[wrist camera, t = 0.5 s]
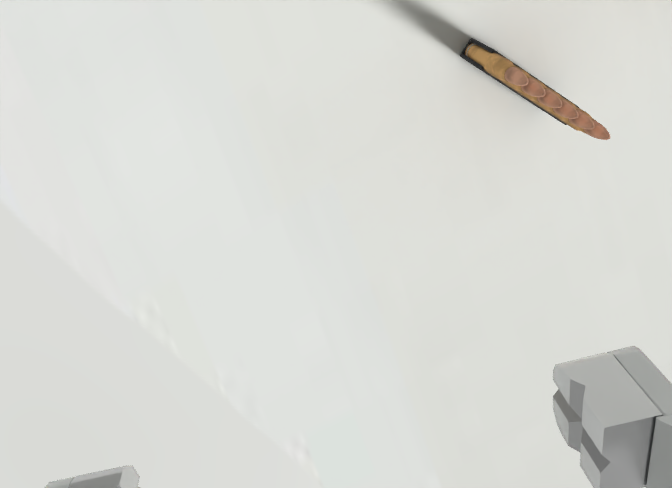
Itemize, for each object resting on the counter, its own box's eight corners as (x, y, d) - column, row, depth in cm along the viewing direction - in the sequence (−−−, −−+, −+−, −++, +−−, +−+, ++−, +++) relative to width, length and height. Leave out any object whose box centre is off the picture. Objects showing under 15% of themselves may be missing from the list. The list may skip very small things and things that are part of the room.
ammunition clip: (459, 55, 52) (509, 88, 42) (471, 37, 51) (525, 65, 41) (543, 111, 56) (609, 153, 45) (555, 94, 55) (625, 133, 45)
